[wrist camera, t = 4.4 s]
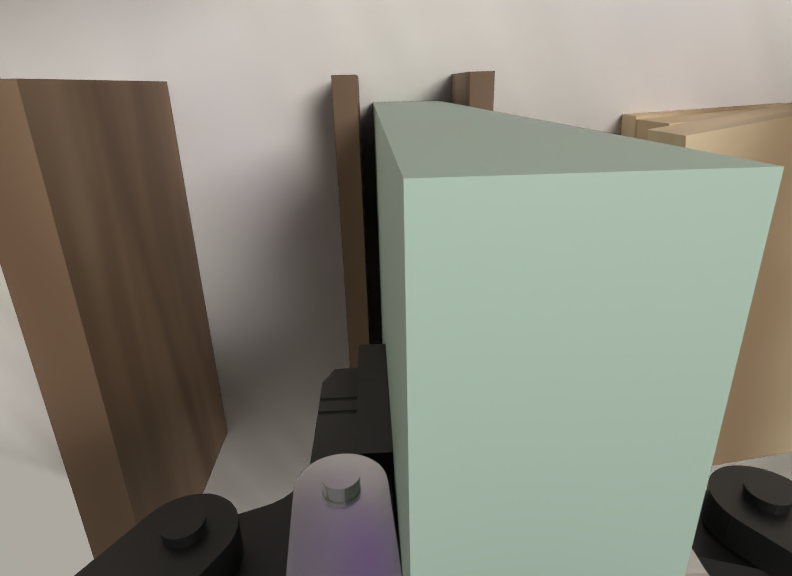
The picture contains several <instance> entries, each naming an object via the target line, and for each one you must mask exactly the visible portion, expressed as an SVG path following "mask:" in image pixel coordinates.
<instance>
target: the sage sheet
mask: <svg viewBox="0 0 792 576" xmlns="http://www.w3.org/2000/svg"><path fill="white" fill-rule="evenodd" d="M373 116H374V143H375V170H376V197H377V225H378V252H379V279H380V306H381V333H382V344H386V357H387V371H388V385H389V398H390V412H391V426H392V440H393V455H394V489H395V522H396V538H397V545H398V552H399V558H400V565H401V572H402V576H685V573H686V569H687V565H688V561H689V557H690V553H691V549H692V545H693V540H694V536H695V532H696V528H697V524H698V520H699V516H700V512H701V508H702V503H703V499H704V495H705V491H706V487H707V483H708V479H709V475H710V471H711V466H712V462H713V458H714V454H715V450H716V446H717V442H718V438H719V433H720V429H721V425H722V421H723V417H724V413H725V409H726V405H727V401H728V396H729V392H730V388H731V384H732V380H733V376H734V372H735V368H736V364H737V359H738V355H739V351H740V347H741V343H742V339H743V335H744V331H745V326H746V322H747V318H748V314H749V310H750V306H751V302H752V298H753V294H754V289H755V285H756V281H757V277H758V273H759V269H760V265H761V261H762V257H763V252H764V248H765V244H766V240H767V236H768V232H769V228H770V224H771V219H772V215H773V211H774V207H775V203H776V199H777V195H778V191H779V187H780V182H781V178H782V174H783V170H784V166H779V165H774V164H769V163H763V162H758V161H753V160H748V159H742V158H737V157H732V156H727V155H721V154H716V153H711V152H706V151H700V150H695V149H690V148H685V147H679V146H674V145H669V144H664V143H658V142H653V141H648V140H643V139H637V138H632V137H627V136H622V135H616V134H611V133H606V132H601V131H595V130H590V129H585V128H580V127H574V126H569V125H564V124H559V123H553V122H548V121H543V120H538V119H532V118H527V117H522V116H517V115H511V114H506V113H501V112H496V111H490V110H485V109H480V108H475V107H469V106H464V105H459V104H453V103H448V102H443V101H410V102H373Z"/></svg>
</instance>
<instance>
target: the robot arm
mask: <svg viewBox="0 0 792 576" xmlns="http://www.w3.org/2000/svg"><path fill="white" fill-rule="evenodd" d="M75 576H402V572H401V565H400V558H399V552H398V545H397V538H396V522H395V489H394V455H393V440H392V426H391V412H390V398H389V385H388V371H387V357H386V344H367V345H359V357H358V368H347V369H334V370H333V372H332V373H331V374H330V375H329V376H328V377H327V378H326V380H325V381H324V382H323V383H322V390H321V396H320V403H319V409H318V416H317V423H316V429H315V436H314V442H313V449H312V456H311V462H310V465H309V466H308V467H306V468H305V469H304V470H303V471H302V472H301V474H300V475H299V476H298V478H297V480H296V482H295V485H294V490H293V492H292V493H290V494H289V495H287V496H286V497H284V498H283V499H281V500H279V501H277V502H275V503H272V504H269V505H267V506H264V507H261V508H257V509H254V510H251V511H248V512H244V513H241V514H238V513H237V510H236V508H235V507H234V505H233V504H232V503H231V502H230V501H229V500H227V499H225V498H223V497H221V496H218V495H214V494H193V495H188V496H184V497H180V498H178V499H175V500H172V501H170V502H168V503H166V504H164V505H162V506H160V507H159V508H157V509H156V510H154V511H153V512H152V513H150V514H149V515H148V516H146V517H145V518H144V519H143V520H142V521H140V522H139V523H138V524H137V525H135V526H134V527H133V528H132V529H131V530H129V531H128V532H127V533H126V534H124V535H123V536H122V537H121V538H120V539H118V540H117V541H116V542H115V543H114V544H112V545H111V546H110V547H109V548H107V549H106V550H105V551H104V552H103V553H101V554H100V555H99V556H98V557H96V558H95V559H94V560H93V561H92V562H90V563H89V564H88V565H87V566H86V567H84V568H83V569H82V570H81V571H79V572H78V573H77V574H76V575H75ZM685 576H792V481H791V480H789V479H787V478H785V477H783V476H781V475H778V474H776V473H773V472H770V471H767V470H763V469H760V468H755V467H750V466H734V465H733V466H726V467H722V468H719V469H717V470H716V471H714V472H713V473H712V474H711V476H710V478H709V481H708V485H707V489H706V491H705V495H704V499H703V503H702V508H701V512H700V516H699V520H698V524H697V528H696V532H695V536H694V540H693V545H692V549H691V553H690V557H689V561H688V565H687V569H686V573H685Z"/></svg>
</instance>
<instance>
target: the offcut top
mask: <svg viewBox="0 0 792 576" xmlns="http://www.w3.org/2000/svg"><path fill="white" fill-rule="evenodd" d="M648 141H653V142H658V143H664V144H669V145H674V146H679V147H685V148H690V149H695V150H700V151H706V152H711V153H716V154H721V155H727V156H732V157H737V158H742V159H748V160H753V161H758V162H763V163H769V164H774V165H779V166H784V170H783V174H782V178H781V182H780V187H779V191H778V195H777V199H776V203H775V207H774V211H773V215H772V219H771V224H770V228H769V232H768V236H767V240H766V244H765V248H764V252H763V257H762V261H761V265H760V269H759V273H758V277H757V281H756V285H755V289H754V294H753V298H752V302H751V306H750V310H749V314H748V318H747V322H746V326H745V331H744V335H743V339H742V343H741V347H740V351H739V355H738V359H737V364H736V368H735V372H734V376H733V380H732V384H731V388H730V392H729V396H728V401H727V405H726V409H725V413H724V417H723V421H722V425H721V429H720V433H719V438H718V442H717V446H716V450H715V454H714V458H713V462H712V465H718V464H724V463H730V462H736V461H742V460H748V459H754V458H760V457H766V456H771V455H777V454H783V453H789V452H792V103H787V104H782V105H777V106H771V107H766V108H761V109H755V110H750V111H744V112H739V113H734V114H728V115H723V116H718V117H712V118H707V119H702V120H696V121H691V122H686V123H680V124H675V125H670V126H664V127H659V128H653V129H648Z"/></svg>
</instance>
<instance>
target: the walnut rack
mask: <svg viewBox="0 0 792 576" xmlns="http://www.w3.org/2000/svg"><path fill="white" fill-rule="evenodd" d="M494 77H495V71H481V72H465V73H458V74H452V103H453V104H459V105H464V106H469V107H475V108H480V109H485V110H490V111H493V101H494ZM331 79H332V94H333V109H334V125H335V140H336V156H337V171H338V187H339V202H340V217H341V233H342V248H343V264H344V279H345V295H346V310H347V325H348V341H349V356H350V368H358V357H359V345H367V344H371V336H370V315H369V293H368V272H367V251H366V230H365V209H364V188H363V167H362V146H361V125H360V104H359V83H358V76H357V75H331ZM0 264H1V268H2V271H3V274H4V277H5V280H6V283H7V286H8V290H9V293H10V296H11V299H12V302H13V305H14V308H15V312H16V315H17V318H18V321H19V324H20V327H21V330H22V334H23V337H24V340H25V343H26V346H27V349H28V352H29V356H30V359H31V362H32V365H33V368H34V371H35V374H36V378H37V381H38V384H39V387H40V390H41V393H42V396H43V400H44V403H45V406H46V409H47V412H48V415H49V419H50V422H51V425H52V428H53V431H54V434H55V437H56V441H57V444H58V447H59V450H60V453H61V456H62V459H63V463H64V466H65V469H66V472H67V475H68V478H69V481H70V485H71V487H72V491H73V494H74V497H75V500H76V503H77V507H78V510H79V513H80V516H81V519H82V522H83V525H84V529H85V532H86V535H87V538H88V541H89V544H90V547H91V551H92V554H93V557H94V559H95V558H96V557H98V556H99V555H100V554H101V553H103V552H104V551H105V550H106V549H107V548H109V547H110V546H111V545H112V544H114V543H115V542H116V541H117V540H118V539H120V538H121V537H122V536H123V535H124V534H126V533H127V532H128V531H129V530H131V529H132V528H133V527H134V526H135V525H137V524H138V523H139V522H140V521H142V520H143V519H144V518H145V517H146V516H148V515H149V514H150V513H152V512H153V511H154V510H156V509H157V508H159V507H160V506H162V505H164V504H166V503H168V502H170V501H172V500H175V499H178V498H180V497H184V496H188V495H193V494H203V492H204V489H205V487H206V484H207V482H208V479H209V477H210V474H211V472H212V469H213V467H214V464H215V462H216V459H217V457H218V455H219V452H220V450H221V447H222V445H223V442H224V440H225V437H226V435H227V429H226V423H225V418H224V412H223V406H222V400H221V394H220V389H219V383H218V377H217V371H216V365H215V360H214V354H213V348H212V342H211V336H210V330H209V325H208V319H207V313H206V307H205V301H204V296H203V290H202V284H201V278H200V272H199V267H198V261H197V255H196V249H195V243H194V238H193V232H192V226H191V220H190V214H189V208H188V203H187V197H186V191H185V185H184V179H183V174H182V168H181V162H180V156H179V150H178V145H177V139H176V133H175V127H174V121H173V116H172V110H171V104H170V98H169V92H168V86H167V82H159V81H109V80H58V79H0Z"/></svg>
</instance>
